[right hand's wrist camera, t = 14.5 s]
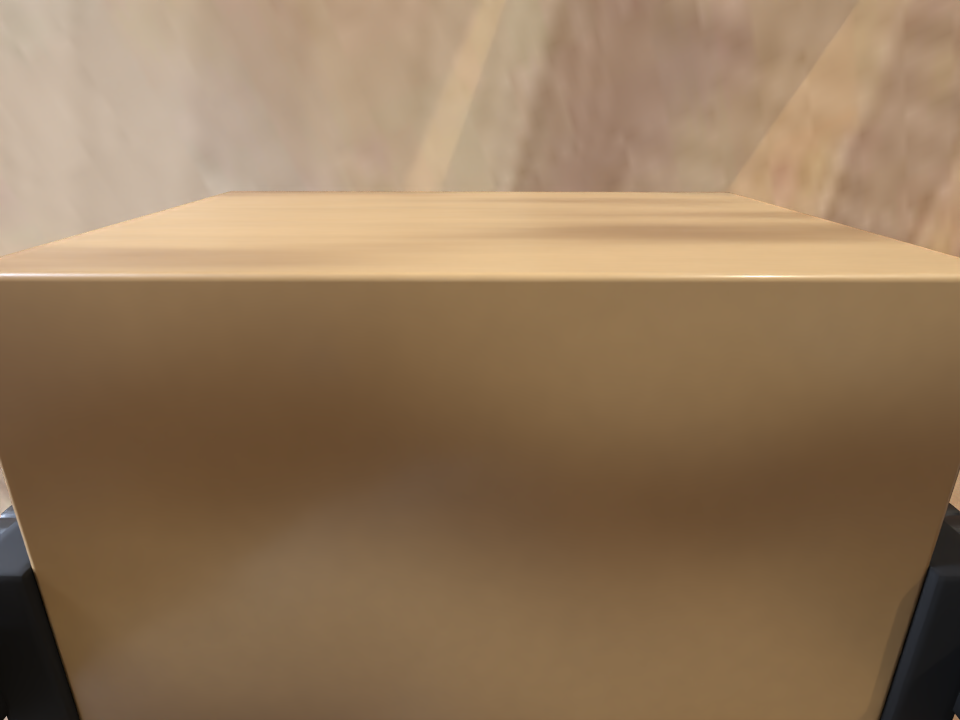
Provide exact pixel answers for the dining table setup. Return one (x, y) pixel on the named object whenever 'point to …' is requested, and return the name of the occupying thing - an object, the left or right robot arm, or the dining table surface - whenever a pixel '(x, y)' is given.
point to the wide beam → (479, 455)
